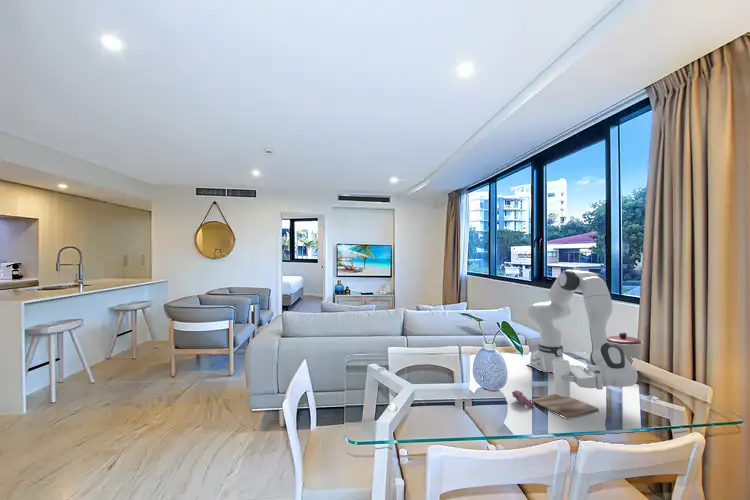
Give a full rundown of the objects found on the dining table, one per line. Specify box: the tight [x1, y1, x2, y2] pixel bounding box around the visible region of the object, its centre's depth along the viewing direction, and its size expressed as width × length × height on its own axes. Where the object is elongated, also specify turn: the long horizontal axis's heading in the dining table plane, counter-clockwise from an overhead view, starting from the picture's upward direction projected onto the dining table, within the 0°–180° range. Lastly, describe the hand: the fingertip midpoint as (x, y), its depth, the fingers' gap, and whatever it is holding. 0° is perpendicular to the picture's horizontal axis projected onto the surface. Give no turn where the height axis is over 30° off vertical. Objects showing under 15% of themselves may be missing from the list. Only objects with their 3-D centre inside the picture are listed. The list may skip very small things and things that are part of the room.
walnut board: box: [529, 393, 600, 419], centre depth 160 cm, size 20×18×1 cm
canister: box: [606, 332, 644, 365], centre depth 203 cm, size 18×18×21 cm
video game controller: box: [511, 389, 534, 408], centre depth 164 cm, size 10×5×7 cm, turn 6°
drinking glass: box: [553, 359, 571, 397], centre depth 160 cm, size 7×7×15 cm
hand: (559, 375), depth 160 cm, fingers closed on drinking glass, 6 cm apart
